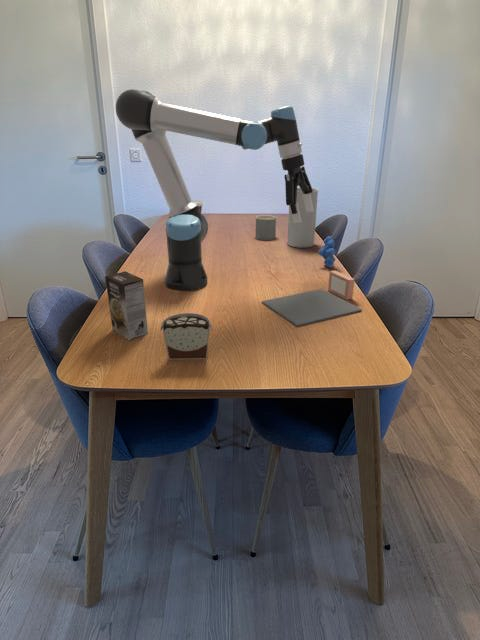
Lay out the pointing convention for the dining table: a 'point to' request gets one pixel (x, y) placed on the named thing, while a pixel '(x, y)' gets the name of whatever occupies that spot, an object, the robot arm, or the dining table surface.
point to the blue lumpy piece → (328, 251)
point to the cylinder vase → (303, 223)
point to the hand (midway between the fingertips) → (304, 216)
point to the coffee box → (127, 304)
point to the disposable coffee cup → (199, 204)
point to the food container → (186, 336)
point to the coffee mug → (265, 227)
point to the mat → (310, 307)
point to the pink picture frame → (341, 285)
